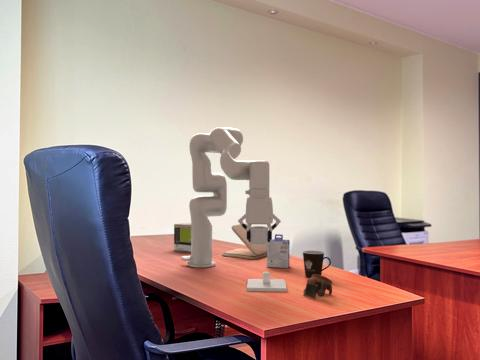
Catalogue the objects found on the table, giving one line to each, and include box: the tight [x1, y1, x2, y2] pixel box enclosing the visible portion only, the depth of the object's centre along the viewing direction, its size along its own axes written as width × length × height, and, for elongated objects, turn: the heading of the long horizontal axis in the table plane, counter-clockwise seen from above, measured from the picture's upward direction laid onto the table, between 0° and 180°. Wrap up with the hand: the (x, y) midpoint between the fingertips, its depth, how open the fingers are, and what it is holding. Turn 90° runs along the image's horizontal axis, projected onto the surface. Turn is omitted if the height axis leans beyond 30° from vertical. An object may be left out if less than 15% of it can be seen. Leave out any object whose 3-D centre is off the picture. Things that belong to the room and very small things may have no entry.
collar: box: [250, 225, 269, 244], centre depth 166 cm, size 7×7×6 cm
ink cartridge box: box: [266, 233, 291, 269], centre depth 203 cm, size 10×6×14 cm, turn 78°
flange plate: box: [246, 271, 288, 293], centre depth 165 cm, size 14×14×5 cm
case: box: [221, 223, 267, 260], centre depth 233 cm, size 20×21×16 cm
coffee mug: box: [302, 250, 332, 279], centre depth 181 cm, size 12×9×10 cm
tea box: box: [173, 222, 191, 253], centre depth 247 cm, size 15×10×15 cm, turn 58°
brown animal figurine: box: [302, 274, 333, 299], centre depth 152 cm, size 12×10×8 cm
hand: (259, 241), depth 166 cm, fingers closed on collar, 6 cm apart
